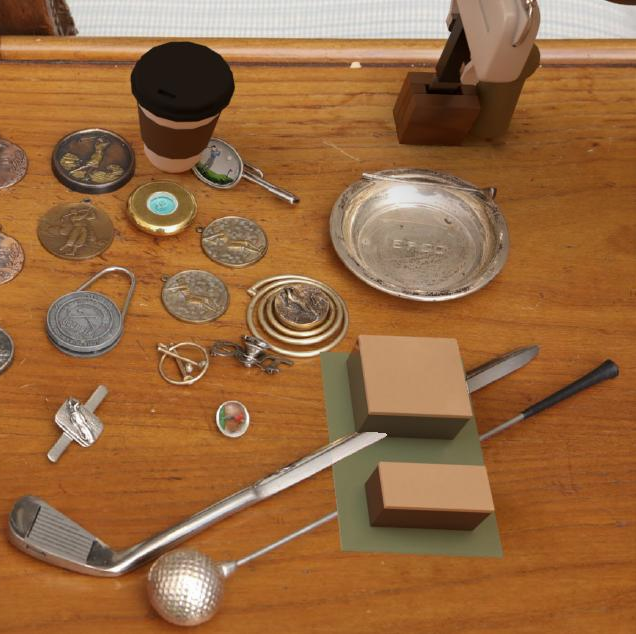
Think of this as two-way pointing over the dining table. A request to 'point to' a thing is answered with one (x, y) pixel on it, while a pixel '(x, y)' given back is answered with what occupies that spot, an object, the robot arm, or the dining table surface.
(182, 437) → the dining table surface
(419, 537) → the green board with blocks
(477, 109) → the knife block
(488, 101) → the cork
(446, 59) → the knife
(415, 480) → the tan rectangular block
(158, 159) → the coffee cup
